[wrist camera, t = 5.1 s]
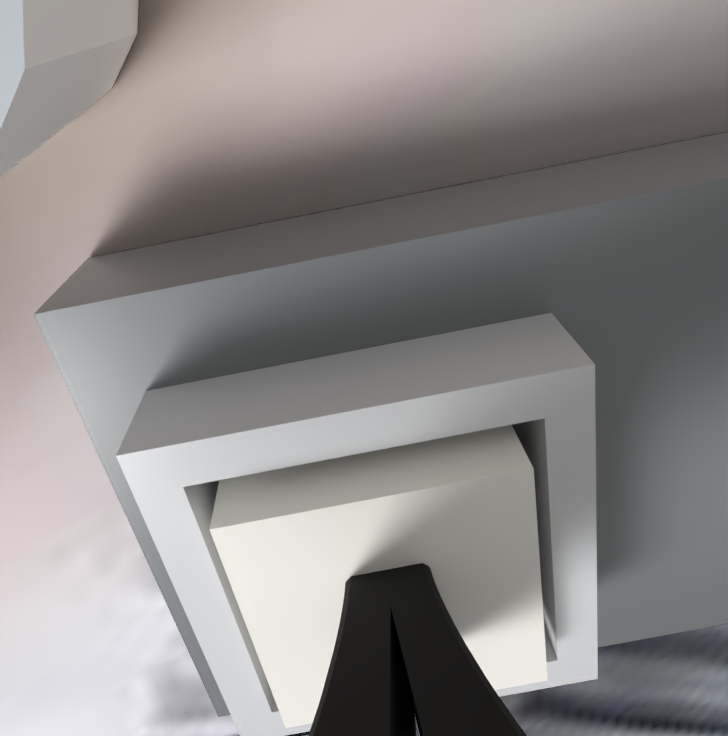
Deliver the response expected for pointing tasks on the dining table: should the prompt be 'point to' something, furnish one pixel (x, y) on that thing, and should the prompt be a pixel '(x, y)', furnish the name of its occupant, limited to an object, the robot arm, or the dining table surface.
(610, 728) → the dining table surface
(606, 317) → the key panel
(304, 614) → the pale key
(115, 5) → the white cylinder
